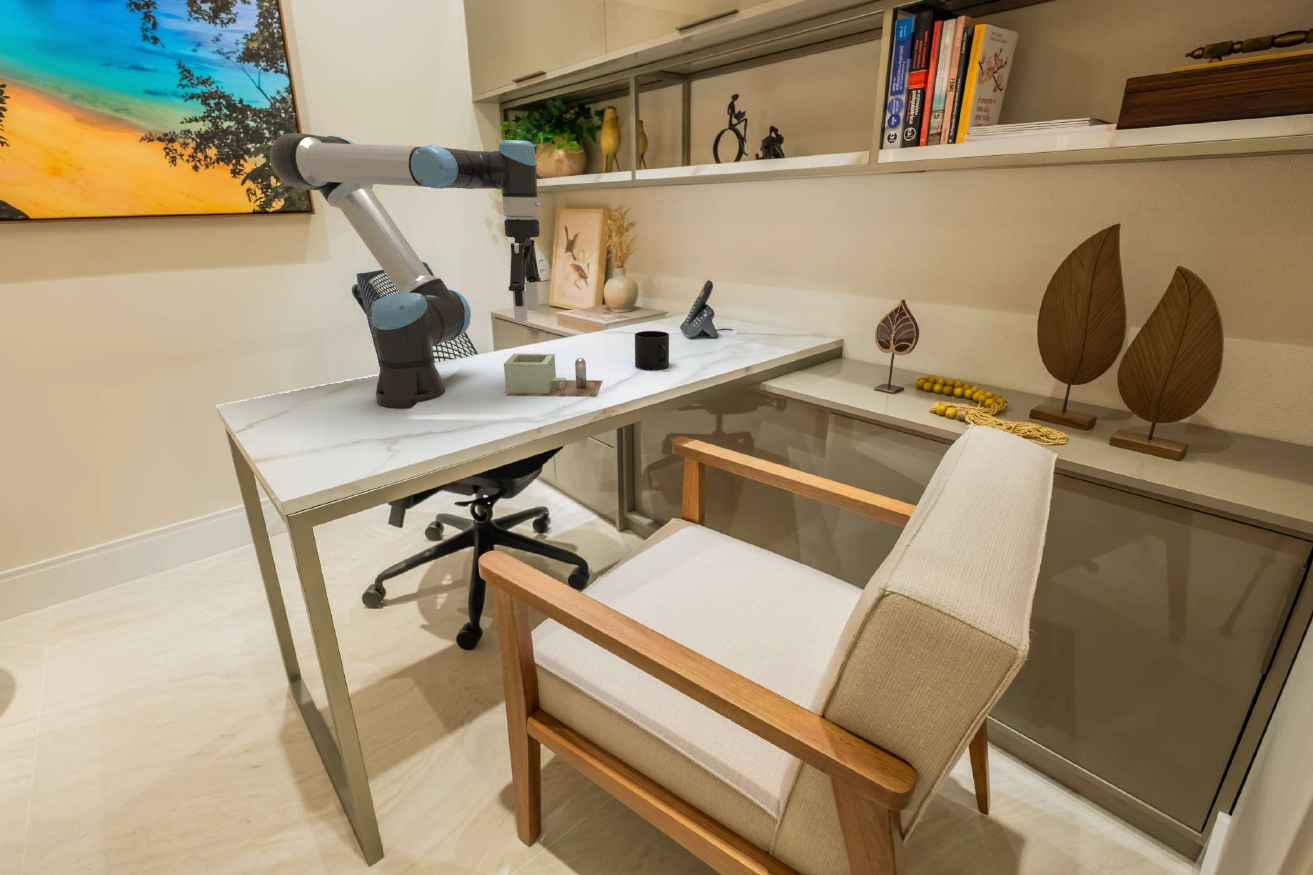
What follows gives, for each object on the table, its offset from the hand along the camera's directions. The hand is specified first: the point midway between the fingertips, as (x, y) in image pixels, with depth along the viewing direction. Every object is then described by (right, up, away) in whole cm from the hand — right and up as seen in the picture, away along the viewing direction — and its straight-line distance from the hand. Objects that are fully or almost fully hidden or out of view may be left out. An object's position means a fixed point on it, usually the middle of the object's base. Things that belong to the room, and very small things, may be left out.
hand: (527, 315), depth 146 cm
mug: (+29, -9, +28) cm, 42 cm away
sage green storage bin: (+1, -16, +6) cm, 17 cm away
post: (+12, -16, +6) cm, 21 cm away
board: (+6, -18, +6) cm, 19 cm away
